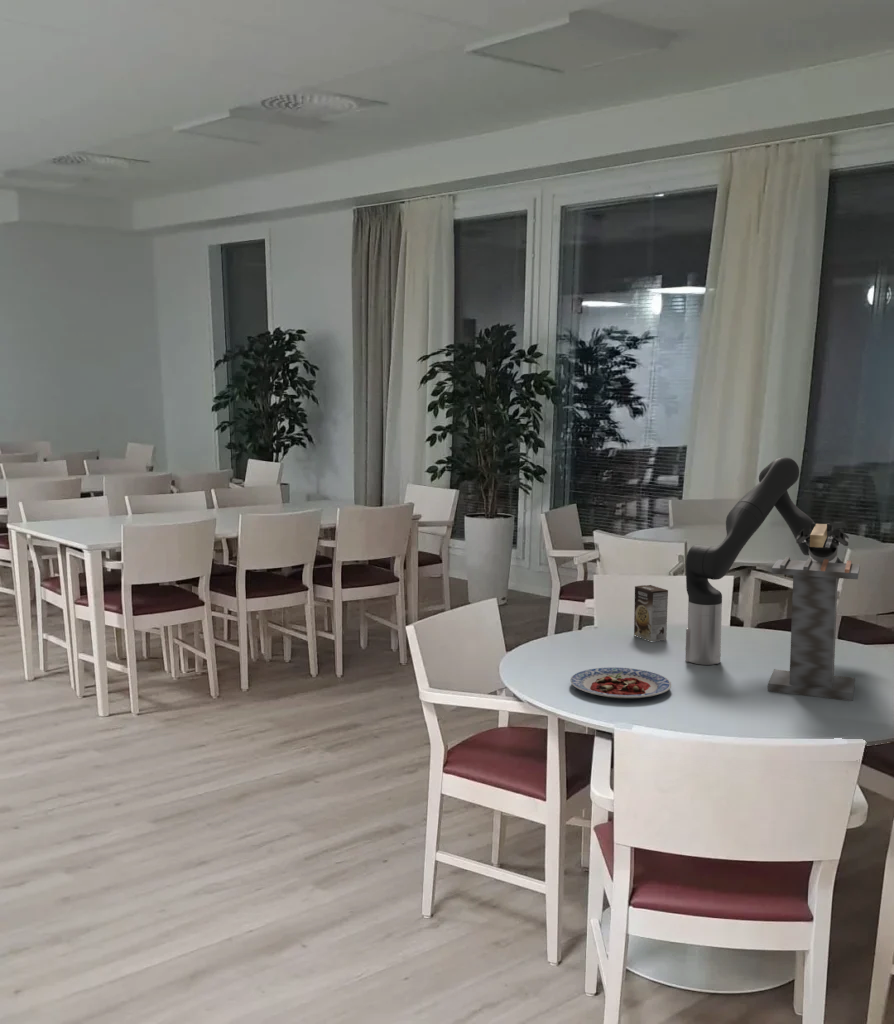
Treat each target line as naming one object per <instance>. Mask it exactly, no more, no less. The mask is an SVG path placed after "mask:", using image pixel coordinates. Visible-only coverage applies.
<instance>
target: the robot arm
mask: <svg viewBox="0 0 894 1024" xmlns="http://www.w3.org/2000/svg"><path fill="white" fill-rule="evenodd" d="M799 477H800V468H799V465H798V464H797V462H796V461H795V460H794V459H793V458H790V457H783V456H781V457H777V458H776V459H774V460H773V461H771V462H770V463H769V464H767V466H765V467H764V468H763V469H762V470H761V471H760V473H759V474H758V481H759V483H758V484H756V485H755V486H754V487H752V489H750V490H749V491H748V492H747V493H746V494H745V495H743V496H742V497H741V498H740V499H739V501H737V503H735V505H734V506H733V507H732V509H730V511H729V512H728V514H727V516H726V519H725V531H726V535H725V536H726V537H724V539H723V541H722V542H721V543H720V544H719V545H717V546H712V545H706V544H705V545H704V544H695V545H692V546H690V548H689V550H688V551H687V554H686V559H685V582H686V583H685V588H686V593H687V597H688V606H687V612H688V613H687V627H686V628H685V658H684V659H685V662H689V663H692V664H696V665H703V666H705V665H707V666H710V665H711V666H712V665H717V664H719V663H721V657H722V656H721V652H722V651H721V650H722V649H721V648H722V646H721V645H722V616H723V615H722V614H723V594H722V592H721V591H720V590H719V589H717V588H715V587H714V586H713V585H712V584H711V583H710V582H709V580H716V581H717V580H720V579H722V578H723V577H725V576H726V575H727V574H728V572H729V571H730V570H731V567H732V566H733V564H734V563H735V561H736V560H737V558H738V556H739V555H740V553H741V552H742V550H743V548H744V547H745V545H746V544H747V543H748V542H749V540H750V539H751V537H753V535H754V534H755V533H756V532H757V531H758V529H759V528H760V527H761V526H762V524H764V521H765V520H766V519H767V517H768V516H769V515H770V513H771V512H772V510H773V509H774V508H775V509H776V510H777V511H778V513H779V514H780V516H781V517H782V518H783V520H784V522H785V523H786V524H787V526H788V528H789V529H790V531H791V533H792V535H793V537H794V539H795V541H796V544H797V545H798V547H799V549H800V551H801V553H802V554H803V556H807V557H809V558H812V561H814V562H823V561H824V559H829V562H831V563H843V561H842V560H841V559H840V558H839V557H838V556H839V550H838V549H839V548H838V547H839V546H840V545H843V546H845V547H848V546H849V538H850V537H849V536H848V535H847V534H846V533H845V532H844V531H842V530H841V529H835V530H834V525H831V524H830V523H826V524H827V538H826V541H825V543H824V546H823V548H822V547H810V534H811V532H812V530H813V529H814V527H815V526H816V524H817V523H816V522H814V520H813V519H812V517H810V516H809V515H808V514H806V513H805V512H804V511H802V510H801V509H800V508H798V506H797V505H796V504H795V503H794V502H793V501H792V498H791V497H790V494H789V492H788V490H789V489H790V488H791V487H792V486H794V484H796V483H797V481H798V480H799ZM839 579H840V578H838V580H839Z"/></svg>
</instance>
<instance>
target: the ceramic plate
mask: <svg viewBox="0 0 894 1024" xmlns="http://www.w3.org/2000/svg"><path fill="white" fill-rule="evenodd" d="M570 683H571V685H572V686H573V687H575V688H576V689H578V690H580V691H582V692H585V693H589V694H591V695H596V696H600V697H604V698H610V699H611V698H612V699H620V700H621V699H622V700H625V699H626V700H627V699H628V700H629V699H631V700H632V699H641V698H648V697H654V696H657V695H662V694H664V693H666V692H668V691H670V689H672V682H671V681H670V679H669V678H667V677H665V676H663V675H661V674H659V673H657V672H653V671H649V670H643V669H638V668H630V667H616V666H615V667H597V668H589V669H585V670H581V671H578V672H576V673H575V674H573V675H572V676H571V677H570Z"/></svg>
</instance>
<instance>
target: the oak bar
mask: <svg viewBox="0 0 894 1024" xmlns="http://www.w3.org/2000/svg"><path fill="white" fill-rule="evenodd" d="M826 538H827V523H816V526H815V527H814V529H813V530H812V532H811V534H810V547H822V548H823V546H824V543H825V541H826Z"/></svg>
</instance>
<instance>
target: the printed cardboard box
mask: <svg viewBox="0 0 894 1024" xmlns="http://www.w3.org/2000/svg"><path fill="white" fill-rule="evenodd" d="M668 597H669V589H665V588H662V587H659V586H655V585H652V584H648V585H643V584H642V585H635V586H634V610H633V611H634V618H633V619H634V622H633V623H634V624H633V627H634V628H633V636H634V635H636V636H638V637H641V638H643V639H642V640H644V639H646V640H649V641H657V642H661V641H660V640H664V641H667V634H668V632H667V630H668V625H667V624H668V607H669V606H668V599H669V598H668ZM636 636H635V637H636ZM638 637H637V638H638ZM641 638H640V639H641ZM646 640H645V641H646ZM649 641H648V642H649Z"/></svg>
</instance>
